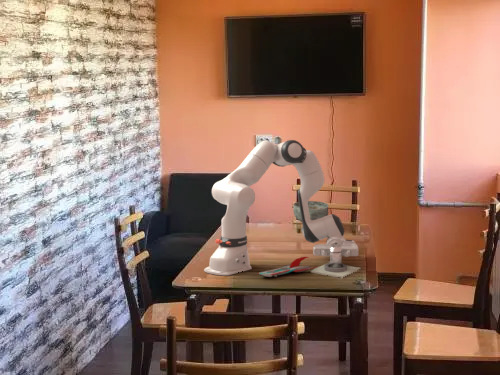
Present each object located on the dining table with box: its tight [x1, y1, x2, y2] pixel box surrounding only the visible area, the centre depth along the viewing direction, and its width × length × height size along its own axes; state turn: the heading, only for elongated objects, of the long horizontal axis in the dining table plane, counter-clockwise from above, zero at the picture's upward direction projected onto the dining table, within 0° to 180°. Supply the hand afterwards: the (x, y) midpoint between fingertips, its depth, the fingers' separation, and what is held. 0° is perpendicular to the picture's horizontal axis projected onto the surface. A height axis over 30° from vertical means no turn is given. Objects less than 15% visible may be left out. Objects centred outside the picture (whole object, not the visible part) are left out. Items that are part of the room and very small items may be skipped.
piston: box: [329, 246, 342, 268], centre depth 320 cm, size 5×5×10 cm
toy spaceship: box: [257, 256, 318, 278], centre depth 317 cm, size 27×11×5 cm, turn 128°
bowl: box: [292, 200, 330, 232], centre depth 398 cm, size 20×19×15 cm
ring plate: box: [310, 261, 361, 279], centre depth 321 cm, size 16×16×2 cm
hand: (335, 254), depth 319 cm, fingers open, 8 cm apart
